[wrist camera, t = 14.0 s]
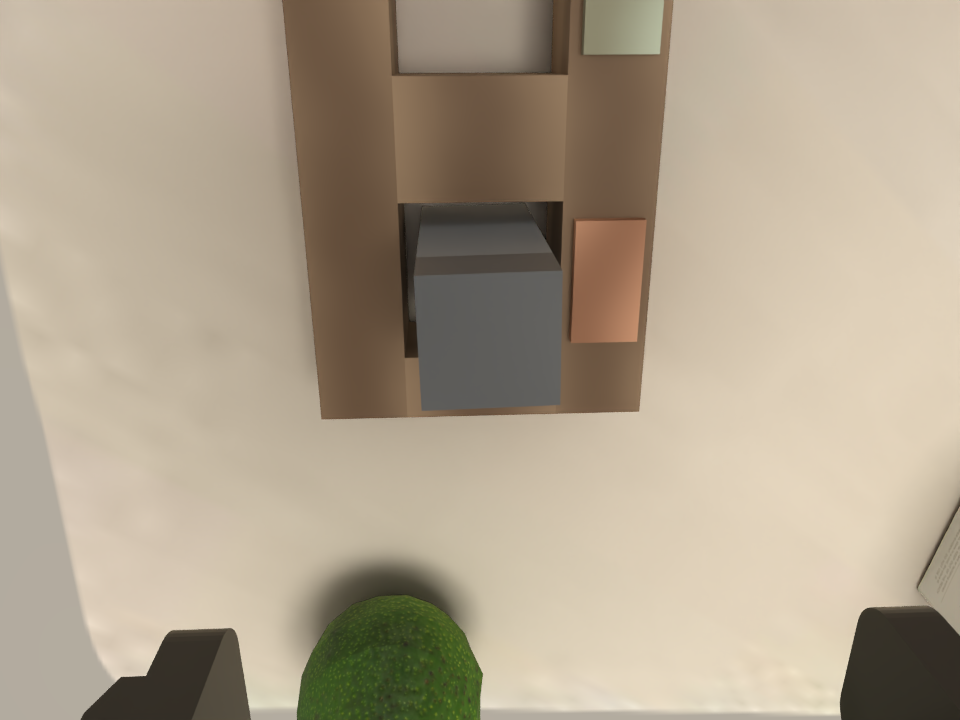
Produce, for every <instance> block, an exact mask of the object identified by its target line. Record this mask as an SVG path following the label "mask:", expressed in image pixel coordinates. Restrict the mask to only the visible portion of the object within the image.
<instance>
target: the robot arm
mask: <svg viewBox="0 0 960 720" xmlns="http://www.w3.org/2000/svg"><path fill="white" fill-rule="evenodd" d="M840 712H841V719H842V720H960V635H959V634H958V633H957V632H956V631H955V630H954V628H953V627H952V626H951V625H950V624H949V623H948V622H947V621H946V620H945V618H944V617H943V616H942V615H941V614H940V613H939V612H938V611H936V610H935V609H933V608H931V607H929V606H902V607H874V608H867V609H865V610H864V611H863V612H862V613H861V615H860V617H859V620H858V623H857V628H856V632H855V636H854V640H853V645H852V649H851V653H850V658H849V662H848V666H847V670H846V675H845V679H844V683H843V688H842V692H841V698H840ZM81 720H251V718H250V711H249V705H248V699H247V693H246V686H245V680H244V674H243V668H242V662H241V656H240V649H239V643H238V638H237V635H236V633H235V631H234V630H233V629H231V628H227V629H198V630H173V631H170V632H169V633H168V634H167V635H166V637H165V638H164V640H163V642H162V644H161V646H160V648H159V650H158V652H157V654H156V656H155V658H154V660H153V662H152V665H151V667H150V669H149V671H148V673H147V675H146V676H137V677H121V678H120V679H119V680H118V681H117V682H116V683H115V684H113V685H112V686H111V687H110V688H109V689H108V690H107V691H106V692H105V693H104V695H102V696H101V697H100V698H99V699H98V700H97V701H96V702H95V703H94V704H93V705H92V706H91V707H90V708H89V709H88V710H87V711H86V712H85V713H84V714H83V716H82V718H81Z"/></svg>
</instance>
